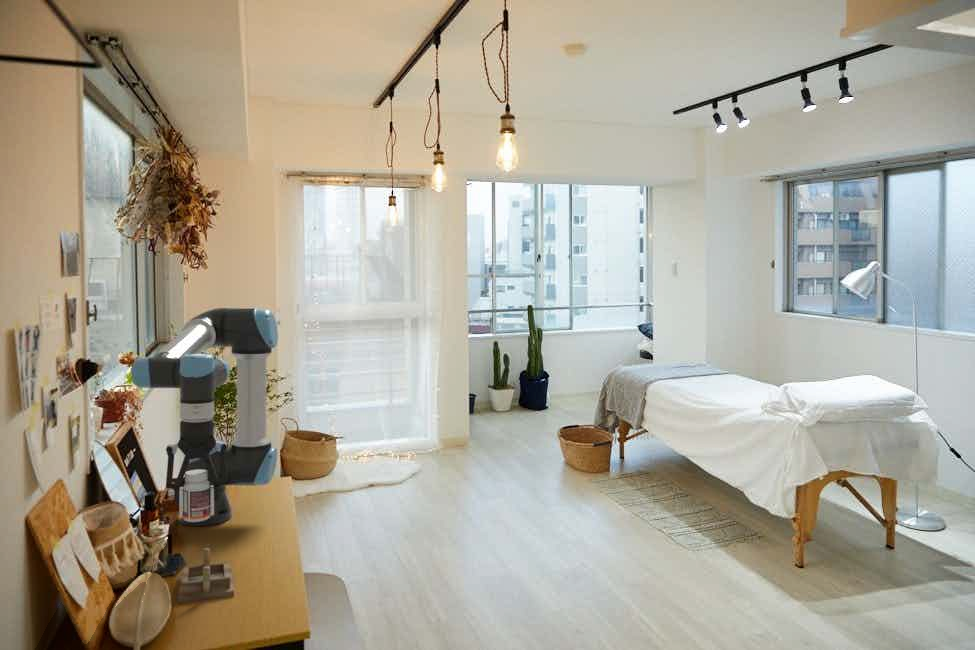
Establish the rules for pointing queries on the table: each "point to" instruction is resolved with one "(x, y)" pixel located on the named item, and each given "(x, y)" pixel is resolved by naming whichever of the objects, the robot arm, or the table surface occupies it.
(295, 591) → the table surface
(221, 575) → the holder
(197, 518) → the pill bottle
